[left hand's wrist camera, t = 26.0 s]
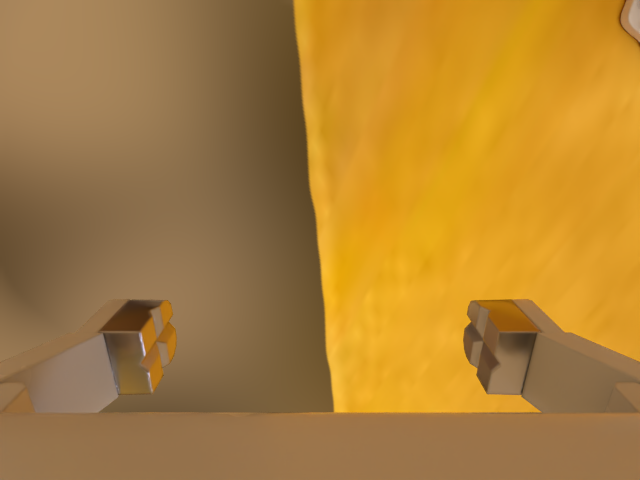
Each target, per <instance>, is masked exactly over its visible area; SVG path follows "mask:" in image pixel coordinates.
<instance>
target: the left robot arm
mask: <svg viewBox="0 0 640 480" xmlns="http://www.w3.org/2000/svg"><path fill="white" fill-rule="evenodd" d="M620 20H621V24H622V26H623V28H624V29H625V30H626V31H627V32H628V33H629V34H630V35H631V36H633V37H634V38H635V39H637V40H638V42H639V43H640V0H626V3H625V5H624V8H623V11H622V13H621V18H620ZM172 315H173V312H172V307H171V303H170V302H169V301H168V300H135V299H134V300H133V299H132V300H130V299H114V300H109V301H107V302H106V303H105V304H104V305H103V306H102V307H101V308H100V309H99V310H98V311H97V312H96V313H95V314H94V315H93V316H92V317H91V318H90V319H89V320H88V321H87V322H86V323H85V324H84V325H83V326H82V327H81V328H80V329H79V330H77V331H76V332H75V333H67V334H65V335H62V336H60V337H58V338H56V339H53V340H51V341H49V342H46V343H44V344H41V345H39V346H37V347H34V348H32V349H30V350H27V351H25V352H23V353H20V354H18V355H16V356H13V357H11V358H9V359H6V360H4V361H1V362H0V480H640V362H638V361H636V360H634V359H631V358H629V357H627V356H624V355H622V354H620V353H617V352H615V351H613V350H610V349H608V348H606V347H603V346H601V345H599V344H596V343H594V342H592V341H589V340H587V339H585V338H582V337H580V336H578V335H575V334H573V333H565V332H564V331H563V330H561V329H560V328H559V327H558V326H557V325H556V324H555V323H554V322H553V321H552V320H551V319H550V318H549V317H548V316H547V315H546V314H545V313H544V312H543V311H542V310H541V309H540V308H539V307H538V306H537V305H536V304H535V303H534V302H533V301H531V300H528V299H515V300H474V301H471V302H470V304H469V306H468V311H467V315H468V317H469V318H470V320H471V323H470V324H469V325H468V326H467V327H466V328H465V330H464V338H463V342H464V350H465V354H466V357H467V359H468V361H469V363H470V364H472V365H473V366H475V367H476V368H478V370H477V377H478V379H479V381H480V382H481V384H482V386H483V388H484V389H485V391H486V393H487V394H503V395H522V396H521V397H523V398H524V399H525V400H527V401H528V402H529V403H531V404H532V405H533V406H535V407H536V408H537V409H538V410H540V411H541V412H542V413H98V412H99V411H100V410H102V409H103V408H104V407H106V406H107V405H108V404H109V403H111V402H112V401H113V400H115V399H116V398H117V397H118V395H136V394H153V393H154V391H155V389H156V388H157V386H158V384H159V382H160V380H161V379H162V377H163V370H162V368H164V367H165V366H167V365H168V364H170V363H171V361H172V359H173V357H174V354H175V349H176V340H177V337H176V330H175V328H174V327H173V326H172V325H171V324H170V323H169V320H170V318H171V317H172Z"/></svg>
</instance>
